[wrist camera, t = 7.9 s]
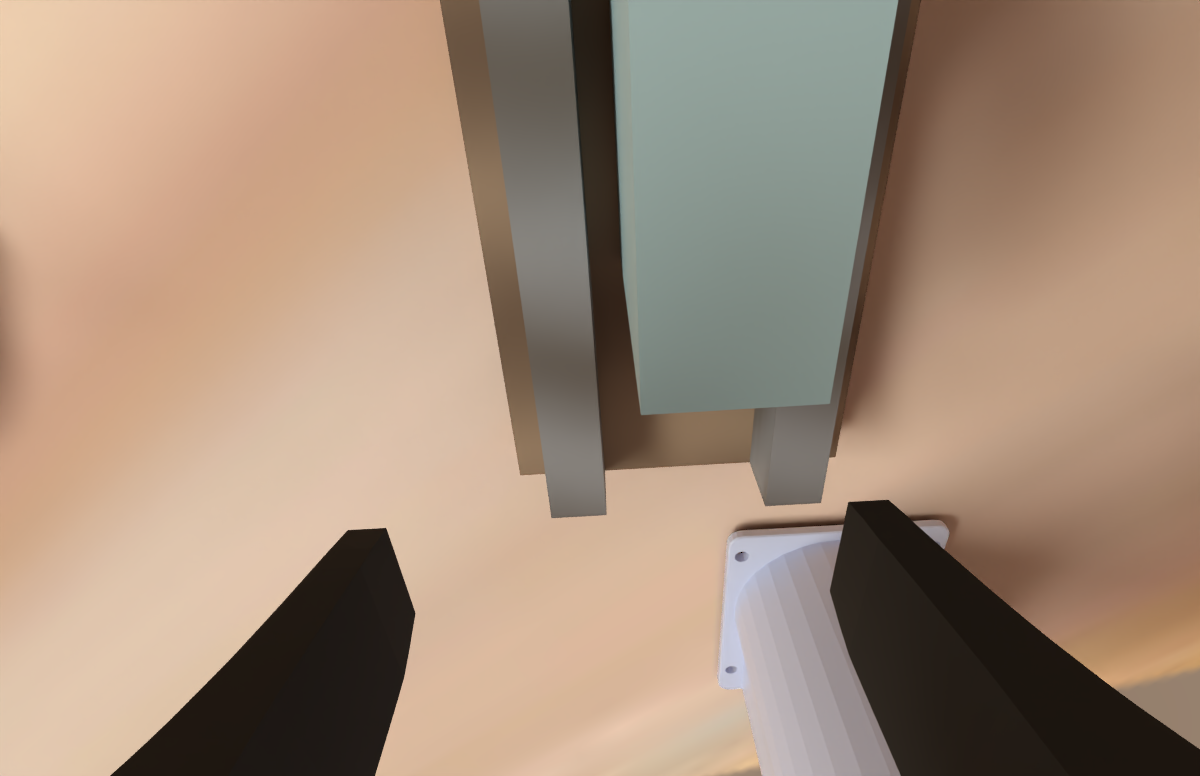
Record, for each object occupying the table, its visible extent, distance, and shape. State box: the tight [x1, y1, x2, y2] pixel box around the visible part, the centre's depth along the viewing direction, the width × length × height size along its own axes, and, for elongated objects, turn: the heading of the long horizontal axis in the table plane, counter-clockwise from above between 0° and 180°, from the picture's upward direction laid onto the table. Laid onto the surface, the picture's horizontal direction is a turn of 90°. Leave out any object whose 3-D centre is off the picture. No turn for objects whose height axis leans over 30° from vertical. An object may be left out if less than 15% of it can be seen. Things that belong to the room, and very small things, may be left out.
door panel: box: [609, 0, 898, 415], centre depth 10 cm, size 10×3×7 cm, turn 4°
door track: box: [440, 0, 921, 518], centre depth 13 cm, size 22×10×3 cm, turn 3°
